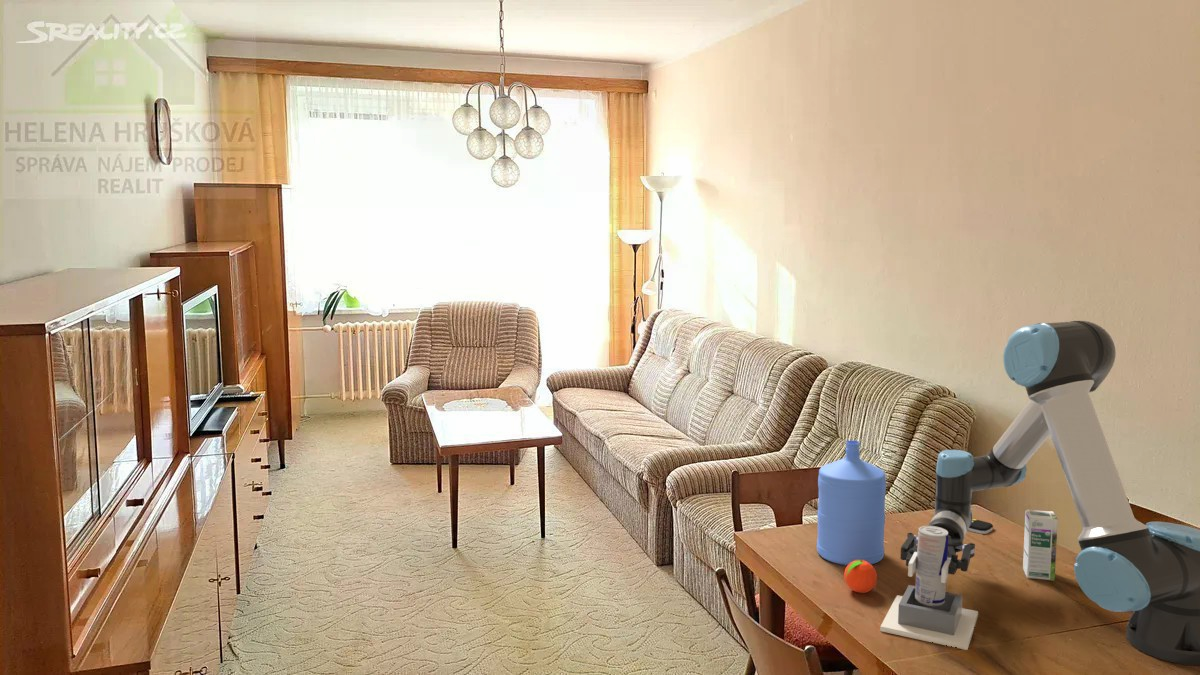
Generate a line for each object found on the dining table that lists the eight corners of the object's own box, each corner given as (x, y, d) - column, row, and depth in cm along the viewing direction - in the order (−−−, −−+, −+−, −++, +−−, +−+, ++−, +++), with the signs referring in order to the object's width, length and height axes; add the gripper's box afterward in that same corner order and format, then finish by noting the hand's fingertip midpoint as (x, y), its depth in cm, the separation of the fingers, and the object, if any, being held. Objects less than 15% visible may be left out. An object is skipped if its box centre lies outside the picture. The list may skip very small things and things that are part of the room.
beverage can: (947, 608, 169) (951, 536, 167) (917, 606, 171) (920, 534, 168) (942, 596, 175) (945, 525, 173) (912, 594, 176) (916, 524, 174)
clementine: (858, 602, 183) (859, 570, 182) (833, 590, 189) (834, 560, 188) (883, 593, 187) (884, 561, 186) (858, 582, 193) (859, 551, 192)
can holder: (978, 615, 176) (979, 592, 175) (967, 650, 162) (968, 625, 161) (896, 599, 184) (897, 577, 183) (880, 631, 170) (881, 607, 169)
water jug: (874, 572, 198) (878, 454, 194) (807, 559, 206) (810, 445, 202) (890, 549, 211) (894, 438, 207) (827, 538, 219) (829, 431, 215)
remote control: (984, 536, 220) (985, 528, 220) (936, 524, 229) (936, 516, 229) (994, 530, 224) (995, 522, 224) (947, 518, 233) (947, 511, 233)
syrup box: (1026, 578, 193) (1030, 516, 191) (1022, 568, 199) (1025, 508, 197) (1054, 581, 192) (1058, 518, 190) (1049, 571, 197) (1053, 510, 195)
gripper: (990, 558, 183) (977, 601, 163) (900, 542, 192) (877, 581, 172) (992, 524, 182) (979, 563, 162) (901, 510, 191) (878, 545, 171)
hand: (926, 572), depth 167 cm, fingers closed on beverage can, 5 cm apart
